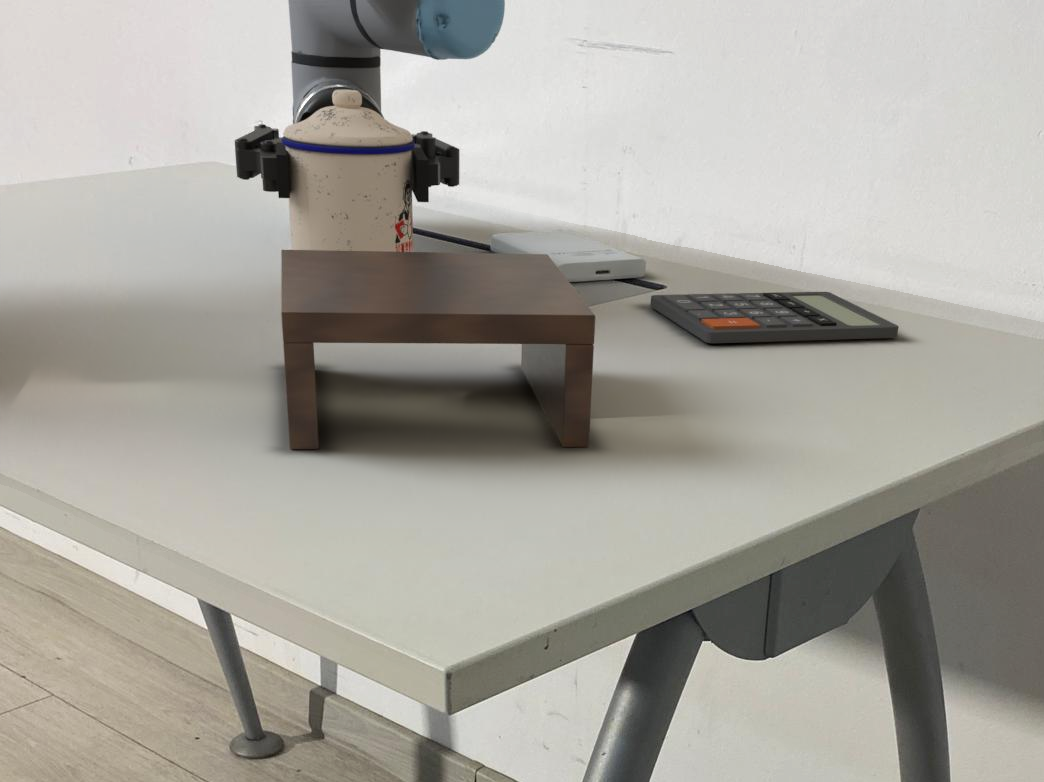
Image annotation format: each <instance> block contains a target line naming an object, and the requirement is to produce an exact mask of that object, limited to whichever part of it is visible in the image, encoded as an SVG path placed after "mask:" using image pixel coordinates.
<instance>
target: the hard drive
mask: <svg viewBox="0 0 1044 782" xmlns="http://www.w3.org/2000/svg"><path fill="white" fill-rule="evenodd" d="M489 247H490V251H491V252H492V253H498V254H547V255H548V256H549V257H550V258H551V260H552V261H553V262H554V263H555V265H556V266H557V267H558V269H559V270H560V271H561V272H562V274H563V275H564V276H565V277H566V279H567V280H568V281H569V283H577V282H578V283H579V282H591V281H592V282H594V281H610V280H622V279H624V280H625V279H636V278H637V279H639V278H642V277H643V276H645V275H646V274H647V273H646V272H647V260H646V259H644V258H641V257H639V256H637V255H634V254H631V253H629V252H626V251H623V250H621V249H618V248H617V247H613V246H611V245H608V244H605V243H603V242H601V241H599V240H595V239H593V238H590V237H588V236H586V235H583V234H580V233H577V232H575V231H572V230H549V231H545V230H544V231H526V232H525V231H524V232H503V233H494V234H492V235H490V245H489Z"/></svg>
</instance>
